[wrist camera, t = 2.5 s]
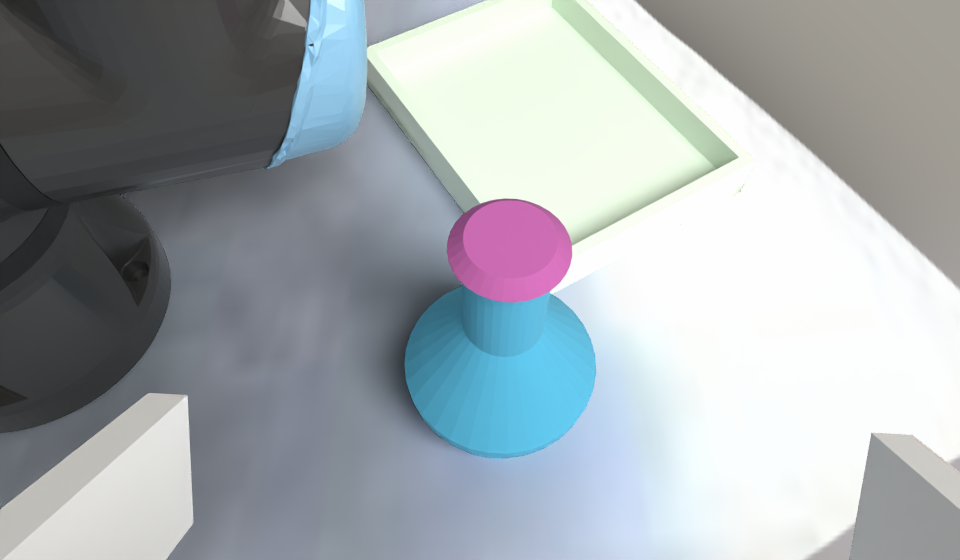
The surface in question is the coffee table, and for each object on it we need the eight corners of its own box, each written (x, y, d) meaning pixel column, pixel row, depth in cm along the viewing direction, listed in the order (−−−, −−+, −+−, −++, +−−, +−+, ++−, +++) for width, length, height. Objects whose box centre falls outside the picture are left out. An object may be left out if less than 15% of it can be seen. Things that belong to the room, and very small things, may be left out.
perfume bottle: (395, 342, 41) (362, 166, 28) (552, 307, 42) (589, 123, 29) (431, 504, 36) (411, 381, 23) (607, 458, 38) (678, 318, 25)
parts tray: (366, 83, 51) (361, 49, 49) (552, 6, 56) (557, -28, 53) (533, 304, 42) (537, 277, 40) (740, 191, 47) (755, 160, 44)
